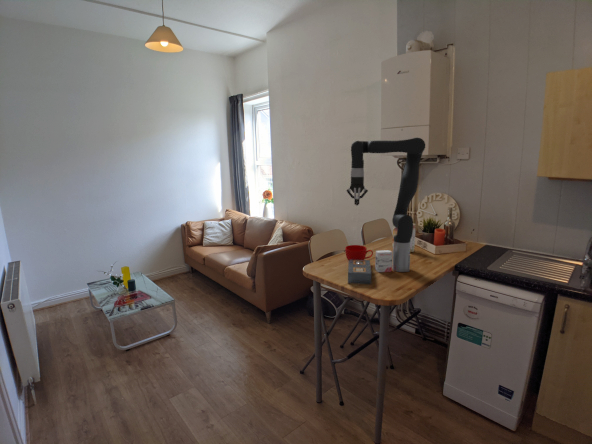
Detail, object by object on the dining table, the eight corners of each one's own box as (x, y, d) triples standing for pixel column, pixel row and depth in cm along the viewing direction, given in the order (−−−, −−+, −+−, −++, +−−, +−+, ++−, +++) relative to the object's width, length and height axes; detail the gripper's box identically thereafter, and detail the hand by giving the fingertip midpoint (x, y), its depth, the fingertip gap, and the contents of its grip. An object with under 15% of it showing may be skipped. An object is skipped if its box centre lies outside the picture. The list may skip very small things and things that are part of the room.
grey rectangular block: (355, 278, 180) (355, 268, 179) (363, 278, 179) (363, 268, 178) (355, 280, 176) (355, 271, 175) (363, 281, 175) (363, 271, 174)
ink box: (388, 268, 194) (389, 249, 192) (392, 271, 189) (392, 252, 187) (374, 269, 193) (375, 250, 191) (377, 272, 189) (378, 252, 186)
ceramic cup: (373, 267, 197) (373, 251, 194) (344, 266, 200) (344, 250, 198) (372, 260, 209) (372, 245, 207) (345, 259, 212) (345, 244, 210)
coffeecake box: (391, 247, 237) (392, 221, 233) (399, 246, 240) (400, 220, 236) (406, 252, 224) (408, 225, 220) (414, 251, 226) (416, 223, 222)
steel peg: (355, 270, 191) (355, 261, 190) (362, 270, 190) (362, 261, 189) (355, 272, 187) (355, 263, 186) (362, 273, 187) (362, 263, 186)
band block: (348, 268, 195) (348, 259, 194) (369, 269, 193) (369, 260, 192) (347, 283, 174) (348, 272, 172) (371, 284, 172) (371, 273, 170)
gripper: (368, 175, 194) (367, 204, 198) (346, 175, 196) (345, 204, 200) (369, 176, 187) (368, 206, 190) (345, 176, 189) (345, 206, 193)
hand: (356, 205), depth 195 cm, fingers closed
